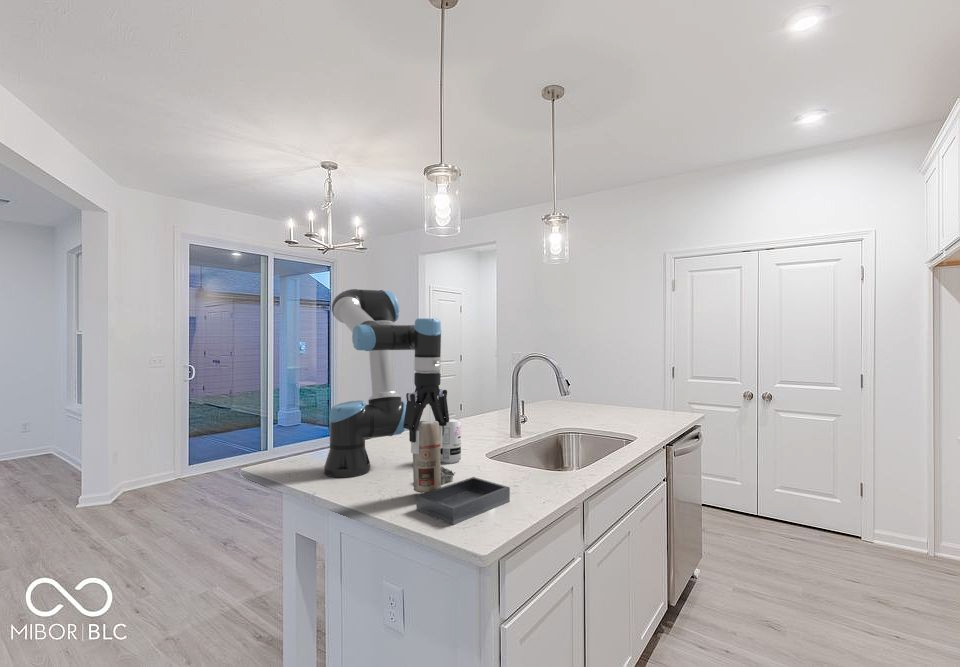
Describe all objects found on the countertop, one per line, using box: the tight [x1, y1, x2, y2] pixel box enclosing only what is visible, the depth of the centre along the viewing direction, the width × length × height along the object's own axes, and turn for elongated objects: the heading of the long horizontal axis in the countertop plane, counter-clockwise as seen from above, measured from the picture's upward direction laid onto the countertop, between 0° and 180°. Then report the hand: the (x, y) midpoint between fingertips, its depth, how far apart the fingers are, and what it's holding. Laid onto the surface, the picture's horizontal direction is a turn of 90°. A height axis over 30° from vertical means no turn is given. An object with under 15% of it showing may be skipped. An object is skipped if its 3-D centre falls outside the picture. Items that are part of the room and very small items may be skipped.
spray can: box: [412, 420, 442, 494], centre depth 135 cm, size 8×8×20 cm
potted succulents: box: [440, 466, 456, 486], centre depth 148 cm, size 11×8×4 cm
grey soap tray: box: [415, 476, 511, 526], centre depth 127 cm, size 22×14×4 cm, turn 137°
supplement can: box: [440, 418, 462, 464], centre depth 173 cm, size 8×8×15 cm
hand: (426, 450), depth 135 cm, fingers closed on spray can, 8 cm apart
